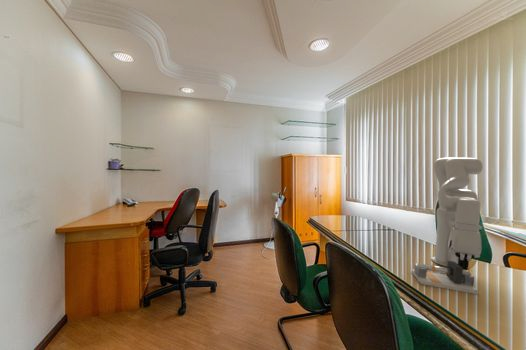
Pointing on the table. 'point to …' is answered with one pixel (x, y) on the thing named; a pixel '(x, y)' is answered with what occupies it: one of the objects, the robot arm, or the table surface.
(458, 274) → the collar
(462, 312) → the table surface
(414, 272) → the pipe jig
